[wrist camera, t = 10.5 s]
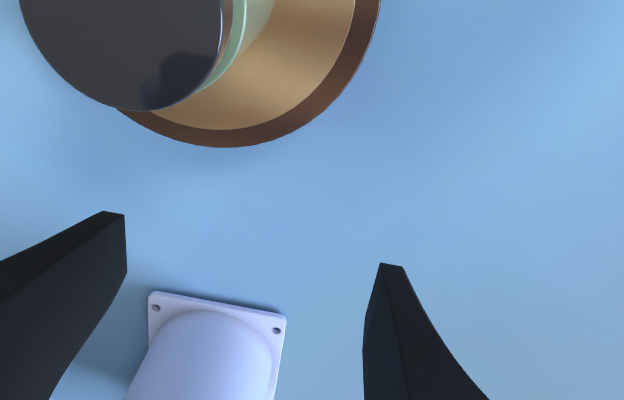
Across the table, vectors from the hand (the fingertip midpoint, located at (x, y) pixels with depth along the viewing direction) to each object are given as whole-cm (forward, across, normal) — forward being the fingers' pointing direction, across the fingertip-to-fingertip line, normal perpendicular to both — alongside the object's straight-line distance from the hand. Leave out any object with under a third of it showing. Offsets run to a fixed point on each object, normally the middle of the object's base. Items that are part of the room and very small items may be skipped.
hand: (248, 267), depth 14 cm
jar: (+8, +4, -6) cm, 11 cm away
